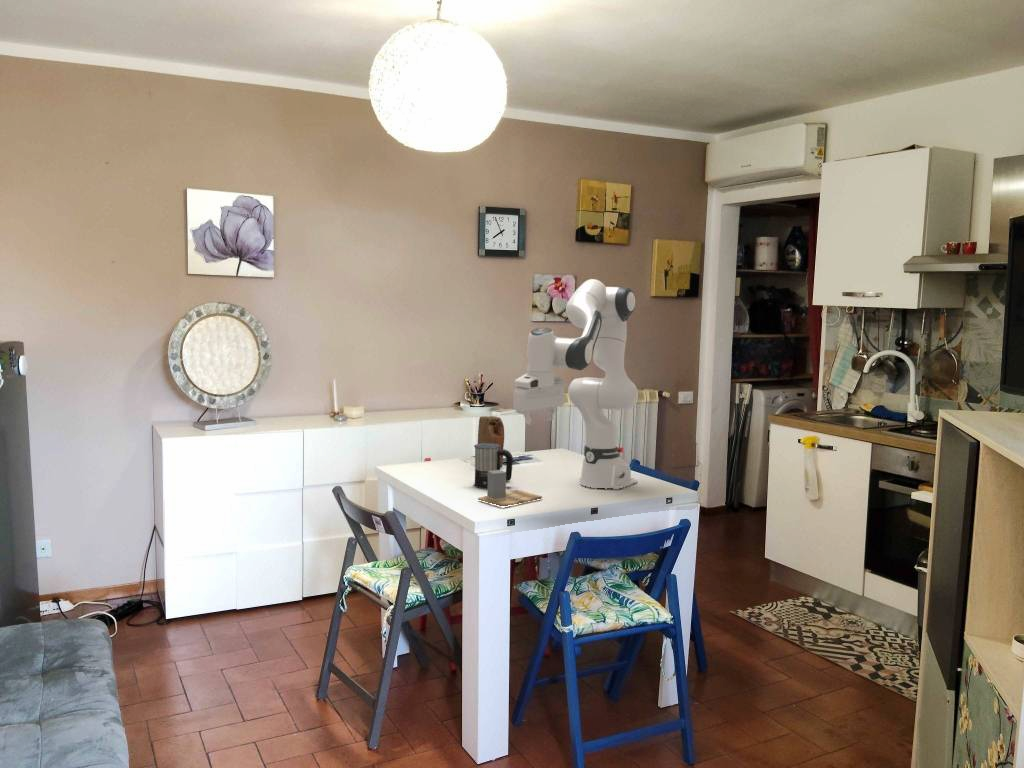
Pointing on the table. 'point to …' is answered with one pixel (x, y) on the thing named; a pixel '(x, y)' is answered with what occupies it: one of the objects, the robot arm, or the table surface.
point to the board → (513, 498)
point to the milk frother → (489, 462)
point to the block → (491, 432)
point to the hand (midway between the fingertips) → (539, 422)
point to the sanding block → (496, 485)
